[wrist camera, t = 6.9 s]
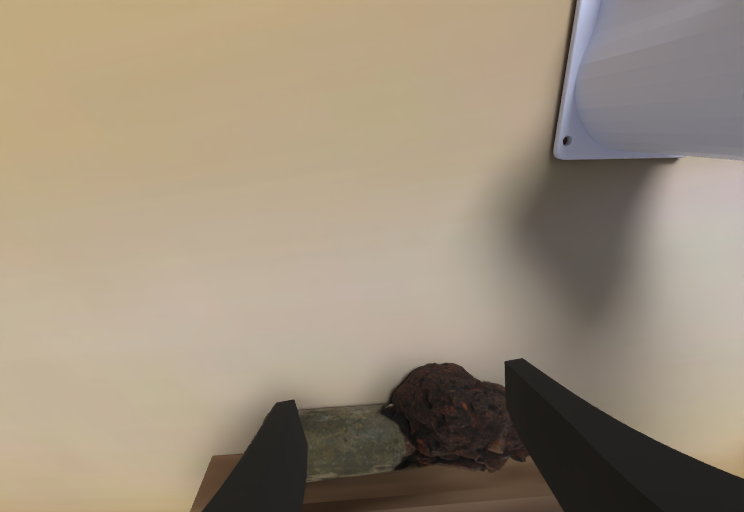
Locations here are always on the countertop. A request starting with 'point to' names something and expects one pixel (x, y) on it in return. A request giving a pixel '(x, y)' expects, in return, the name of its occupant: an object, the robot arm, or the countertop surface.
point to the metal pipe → (415, 429)
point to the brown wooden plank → (412, 490)
